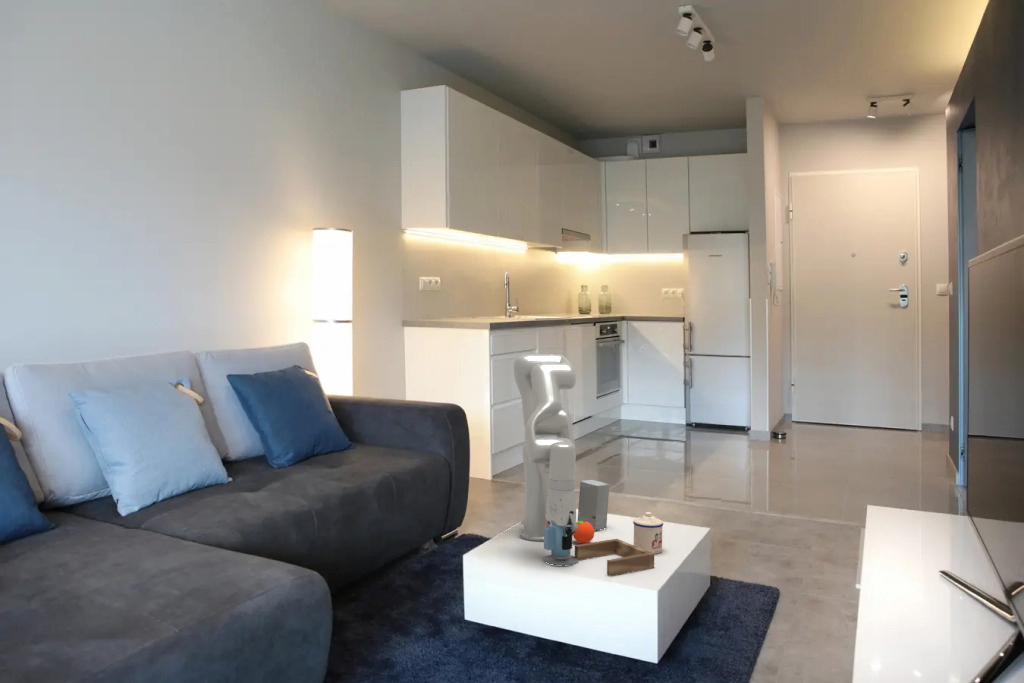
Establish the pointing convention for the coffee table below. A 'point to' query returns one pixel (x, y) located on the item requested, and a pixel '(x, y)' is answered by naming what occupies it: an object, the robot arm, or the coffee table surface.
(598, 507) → the skincare box
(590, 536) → the clementine
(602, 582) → the coffee table surface
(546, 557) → the coaster
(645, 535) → the teacup with lid
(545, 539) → the jug
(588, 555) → the open wooden frame
